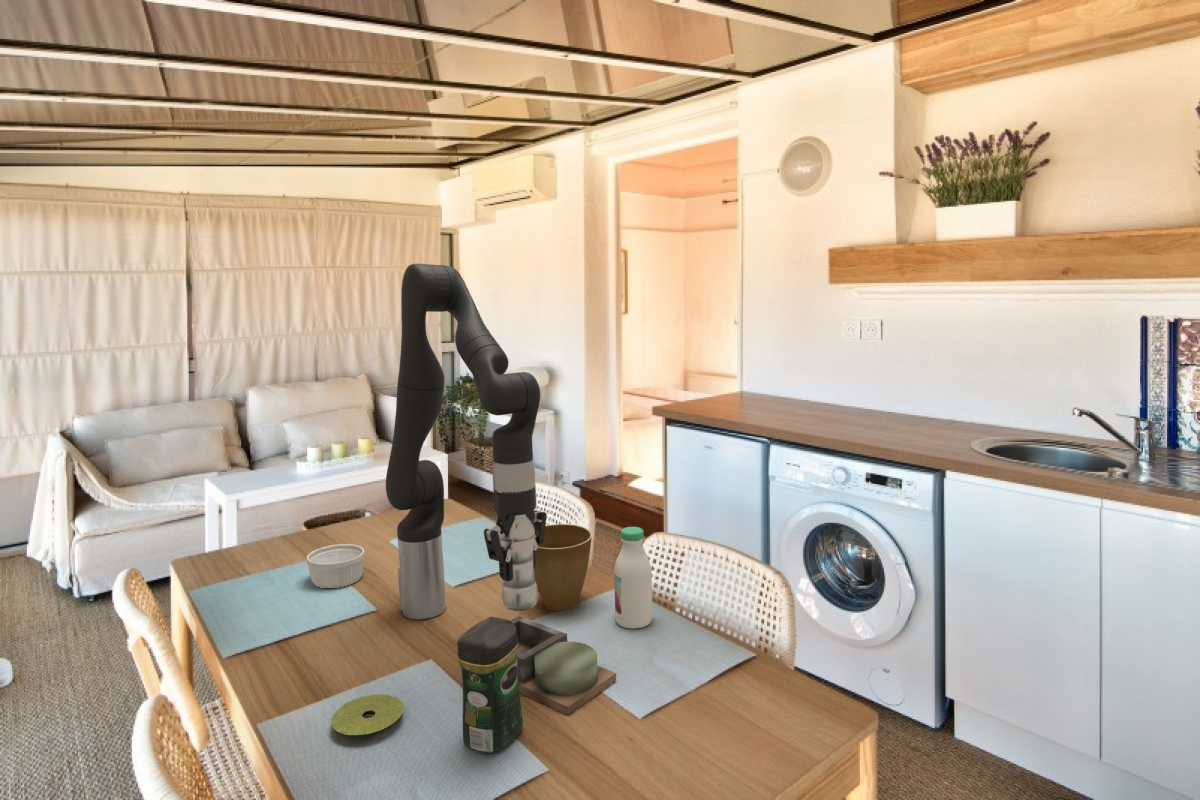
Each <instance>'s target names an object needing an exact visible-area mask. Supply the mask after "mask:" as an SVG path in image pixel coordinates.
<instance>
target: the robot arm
mask: <svg viewBox="0 0 1200 800" xmlns="http://www.w3.org/2000/svg"><path fill="white" fill-rule="evenodd" d="M400 293H401V295H400V296H401V297H400V298H401V299H400V300H401V302H400V305H401V311H400V312H401V339H400V340H401V341H400V358H399V368H398V376H397V386H396V387H397V389H396V400H395V402H396V408H395V417H394V427H393V437H392V442H391V449H390V455H389V460H388V464H387V470H386V475H385V476H386V477H385V491H386V492H385V493H386V497H387V499H388V502H389V504H390V505H391V506H392V507H393V508H394V509H396V510H398V511H408V510H409V512H408V513H407V514H406V515H405V516H404V517H403V518H402V520H401V521H400V522H399V523H398V524H397V527H396V529H397V530H396V533H397V534H396V535H397V548H398V549H397V550H398V562H399V568H398V569H397V578H398V579H397V580H398V581H397V582H398V595H399V608H400V610H401V611H402V615H403V616H404V617H405V618H407V619H411V620H428V619H431V618H434V617H437V616H439V615H441V614H442V613H444V612H445V611H446V608H447V605H446V603H447V601H446V588H445V587H446V586H445V585H446V584H445V571H444V570H445V569H444V552H443V550H444V549H443V537H442V536H443V535H442V526H443V523H444V520H445V485H444V484H445V483H444V478H443V475H442V474H443V473H442V471H441V470H440V468H439V466H438V465H437V464H436V463H435V462H434V461H432V460H429V459H421V460H420V456H421V451H422V448H423V445H424V444H425V441H426V439H427V438H428V435H429V434H430V432H431V431H432V429H433V427H434V425H435V424H436V421H437V420H438V418H439V415H440V413H441V410H442V408H443V401H444V390H445V373H444V371H443V368H442V366H441V364H440V361H439V359H438V357H437V355H436V354H435V352H434V351H433V348H432V347H431V343H430V342H429V338H428V335H427V323H426V320H427V319H426V318H427V312H430V313H432V312H434V313H436V312H437V313H441V312H442V313H443V312H444V313H445V312H448V313H449V314H450V315H452V317H453V318H454V319H455V320H456V322H457V325H456V330H455V337H454V339H455V340H454V341H455V343H454V344H455V346H456V350H457V353H458V355H459V356H460V359H461V360H462V362H463V363H464V364H465V366H466V367H467V368H468V370H469V371H470V373H471V374H472V377H473V380H474V384H475V386H476V390H477V393H478V399H479V401H480V405H481V407H482V408H483V409H484V410H485V411H486V412H487V413H489V414H491V415H493V416H505V415H510V414H511V416H510V419H509V421H508V422H507V423H506V424H504V425H502V426H499V427H498V428H497V429H494V431H493V433H492V439H491V440H492V457H493V460H492V461H493V466H492V487H493V490H492V491H493V506H494V507H493V508H494V509H493V510H494V511H495V514H496V515H497V519H496V522H495V526H493V527H492V528H488V527H487V528H485V529H483V537H484V542H485V546H486V549H487V554H488V559H489V560H493V561H496V562H498V568H499V569H498V570H499V572H498V573H499V577H500V578H501V580H502V581H503V580H505V581H508V582H509V581H511V580H512V561H510V560H511V556H512V549H514V544H513V543H514V542H513V539H512V540H511V541H510V543H509V544H507V543H503V542H501V539H500V538H501V536H500V535H499V534H500V533H501V535H502V532H503V533H504V534H505V535H506V536H508V535H509V533H510V530H511V527H512V524H513V522H514V520H515V516H517V515H524V514H525V515H526V516H527V517H528V518H529V521H530V522H531V523H532V524H533V526H534V529H535V535H534V546H533V568H534V569H535V568H536V550H537V548H538V545H539V544H543V543H544V537H545V527H546V526H547V512H545V511H541V510H537V491H536V490H537V486H536V469H535V464H534V449H533V436H534V435H533V433H534V430H535V426H536V421H537V416H538V413H539V412H538V411H539V408H540V403H541V388H540V385H539V382H538V381H537V379H536V377H535V376H534V375H533V374H532V373H530V372H528V371H527V372H526V371H519V372H511V373H506V372H507V370H508V368H509V359H508V356H507V354H506V353H505V351H504V349H503V348H502V347H501V345H500V344H499V343H498V342H497V341H496V339H495V337H494V336H493V335H492V333H491V331H490V330H489V328H487V326H486V324H485V322H484V320H483V318H482V316H481V314H480V312H479V310H478V308H477V306H476V303H475V301H474V299H473V297H472V295H471V292H470V291H469V288H468V286H467V284H466V281H465V280H464V279H463V277H462V275H461V273H460V272H459V271H458V270H457V269H456V268H455V267H453V266H450V265H445V264H431V263H429V264H426V263H411V264H409V265H408V266H407V267H406V269H405V270H404V272H403V275H402V283H401V292H400ZM518 525H519V524H518ZM518 525H516V529H517V527H518ZM537 530H538V531H539V536H537ZM503 547H506V553H505V554H504V551H503Z"/></svg>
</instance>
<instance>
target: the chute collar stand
mask: <svg viewBox="0 0 1200 800" xmlns="http://www.w3.org/2000/svg"><path fill="white" fill-rule="evenodd" d="M509 620H510V621H511V622H512V623H513V624H514V626H515V627H516V631H517V637H518V653H517V673H518V683H519V693H520V694H521V695H524V696H526V697H528V698H530V699H533V700H535V701H537V702H538V703H541V704H543V705H545V706H547V707H549V708H552V709H554V710H556V711H558V712H561V713H562V714H564V715H567V716H570V715H571V714H572V713H573V712H575V711H577V710H578V709H579V708H581V707H582V706H583V705H585V704H586V703H587V702H589V701H590V700H592V699H593V698H594V697H596V696H597V695H599V694H600V693H601V692H603V691H605V688H606V687H607V686H608V687H610V686H611V685H612V684H614V683H615V682H616V681H617V672H615V671H612V670H609V669H608V668H607V669H606V668H605V667H602V666H599V665H598V653H597V651H596V649H594V648H593V647H592V646H591V645H588V644H586V643H583V642H580V641H579V642H578V641H568V633H566V632H563V631H561V630H557V629H555V628H552V627H550V626H547V625H544V624H542V623H539V622H537V621H534V620H532V619H528V618H526V617H523V616H521V615H518V616H515V618H511V619H509ZM615 680H616V681H615ZM614 681H615V682H614ZM613 682H614V683H613ZM611 683H612V684H611ZM610 684H611V685H610ZM609 685H610V686H609ZM608 687H607V688H608ZM607 688H606V689H607ZM602 690H603V691H602Z"/></svg>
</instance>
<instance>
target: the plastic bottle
mask: <svg viewBox="0 0 1200 800" xmlns="http://www.w3.org/2000/svg"><path fill="white" fill-rule="evenodd" d="M518 524H519V525H518ZM516 525H518V527H517V529H516ZM499 535H500V536H501V538H500V539H501V542H503V543H507V544H509V543H510V541H511V540H512V539H513V542H514V543H513V544H514V549H512V556H511V560H510V561H512V580H511V581H509V582H508V581H505V580H502V587H501V600H502V604H503V605H504V606H505V607H506V609H508V610H510V611H513V612H523V611H528V610H530V609H533V608H534V607H535V606H536V604H537V603H538V599H539V592H538V589H537V584H536V581H535V575H534V568H533V546H534V535H535V529H534V526H533V524H532V523H531V522H530V521H529V518H528V517H527V516H526V515H525V514H524V515H517V516H515V520H514V522H513V524H512V527H511V530H510V533H509V535H508V536H506V535H505V534H504V533H503V532H502V535H501V533H500V534H499ZM503 551H504V554H505V553H506V547H503Z"/></svg>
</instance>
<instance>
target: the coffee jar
mask: <svg viewBox="0 0 1200 800" xmlns="http://www.w3.org/2000/svg"><path fill="white" fill-rule="evenodd" d="M510 620H511V619H508V618H507V619H506V618H502V617H496V616H488V618H486V619H484V620H482V621H479V622H478V623H476V624H475V625H473V626H472V627H470V628H469V629H468V630H467V631H465V632H464V633H463V634H462V635H460V637H459V638H458V639H457V660H458V664H459V667H460V669H461V679H462V682H461V683H462V741H463V744H464V746H465V747H466V748H468V749H469V750H471V751H474V752H476V753H479V754H497V753H500V752H502V751H503V750H505V749H506V748H507V747H508V746H509V745H510V744H511V743H512V742H513V741H514V740H515V739H516V738H517V736H518V735H519V734H520V733H521V730H522V728H523V725H524V724H523V723H524V722H523V721H524V720H523V710H522V704H521V703H522V702H521V695H520V694H521V693H519V683H518V673H517V653H518V637H517V631H516V627H515V626H514V624H513V623H512V622H511V621H510Z"/></svg>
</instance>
